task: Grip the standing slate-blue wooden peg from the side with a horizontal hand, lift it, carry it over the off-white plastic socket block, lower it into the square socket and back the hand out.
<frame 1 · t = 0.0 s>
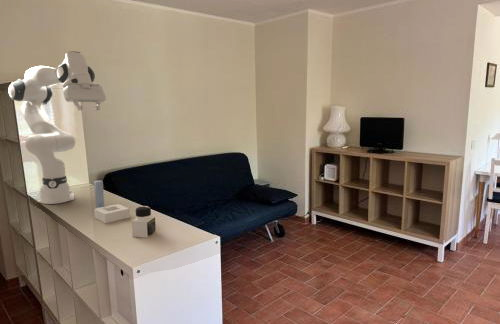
hand: (89, 110, 170), 52 cm above the table, tool tilted 20°, fingers open, 8 cm apart
peg: (100, 211, 178), on the table
video game controller: (143, 227, 156), on the table
socket block: (112, 217, 168), on the table
medicine bottle: (144, 235, 146), on the table
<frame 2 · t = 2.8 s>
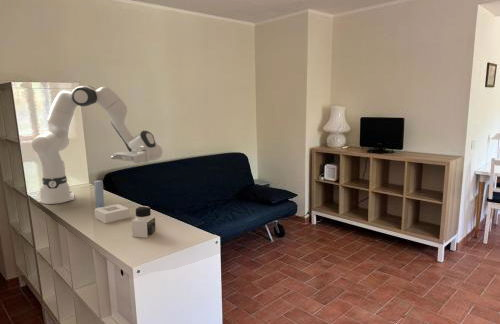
hand: (117, 158, 184), 26 cm above the table, tool horizontal, fingers open, 8 cm apart
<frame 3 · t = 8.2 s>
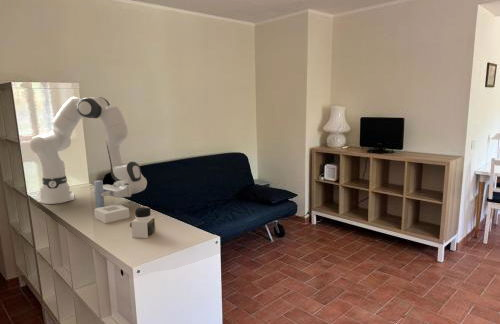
hand: (97, 193, 176), 10 cm above the table, tool horizontal, fingers closed on peg, 4 cm apart
peg: (100, 211, 178), on the table, touching gripper
video game controller: (140, 228, 155), on the table
everything else where it was.
when the fingers open (11 cm above the table, at t = 13.3 s): peg drops 1 cm, resting in socket block.
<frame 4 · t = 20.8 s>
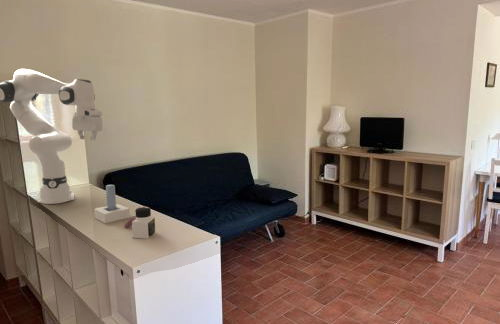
hand: (87, 139, 174), 37 cm above the table, tool pointing down, fingers open, 8 cm apart
peg: (112, 217, 168), resting in socket block
video game controller: (135, 229, 153), on the table
at the end: peg 0.0 cm off-centre on the socket block, point 0.0 cm above the socket block's base; peg tilted 0°; the gripper is holding nothing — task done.
